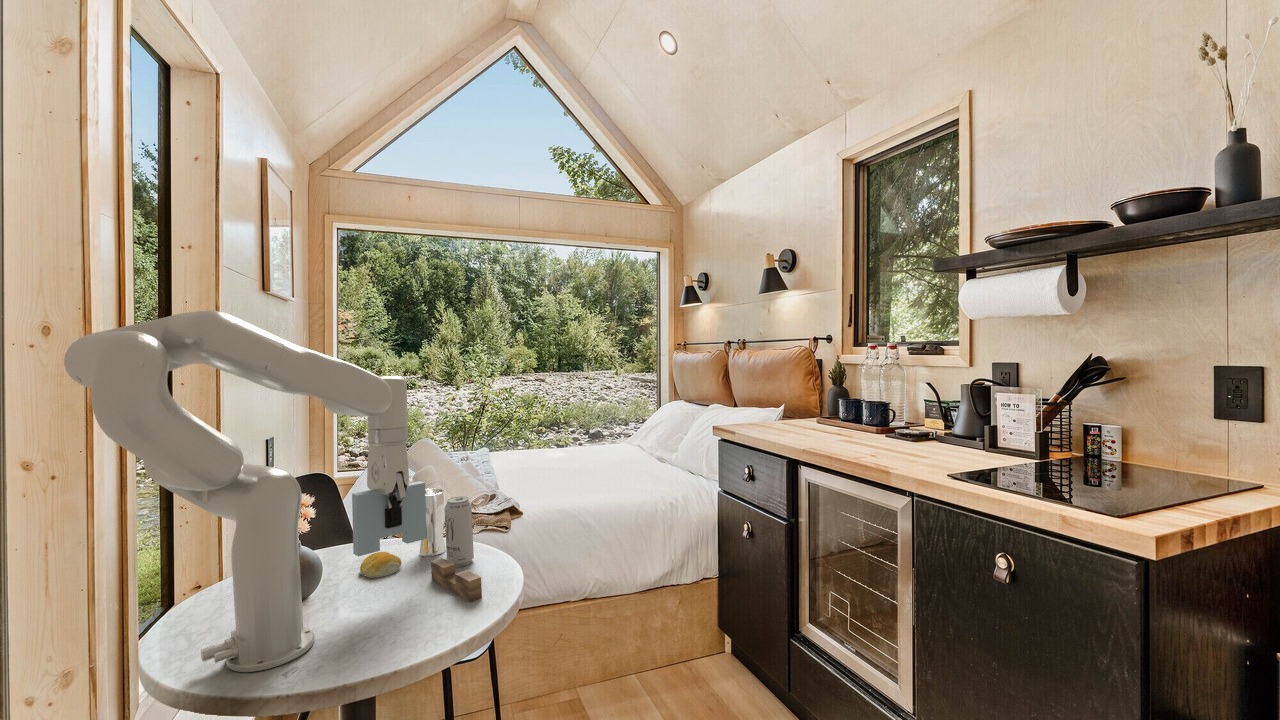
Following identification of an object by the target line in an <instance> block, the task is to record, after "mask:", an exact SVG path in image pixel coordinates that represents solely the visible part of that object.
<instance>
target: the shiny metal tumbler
mask: <svg viewBox="0 0 1280 720" xmlns="http://www.w3.org/2000/svg"><path fill="white" fill-rule="evenodd" d="M425 491H426V535H427V539H423V540H420V545H419V551H418V552H419V555H420V557H421V556H422V557H435V556H439V555H441V554H443V553H445V551H446V544H445V542H444V527H445V510H444V508H445V506H446V500H445V491H444V489H443V488H427V489H426V488H425Z"/></svg>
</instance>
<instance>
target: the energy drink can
mask: <svg viewBox="0 0 1280 720" xmlns="http://www.w3.org/2000/svg"><path fill="white" fill-rule="evenodd" d="M472 509H473V507H472V504H471V502H470V499H469V497H468V496H456V497H454V496H453V497H451V498H448V499H446V503H445V508H444V510H445V522H444V527H445V531H444V532H445V551H446V560H447V561H449V562H452V563H454V564H455V568H460V567H464V566H468V565H469V564H471V563H472V561H473V559H474V555H475V554H474V551H475V550H474V535H473V534H474V533H473V530H474V529H473V511H472Z"/></svg>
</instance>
